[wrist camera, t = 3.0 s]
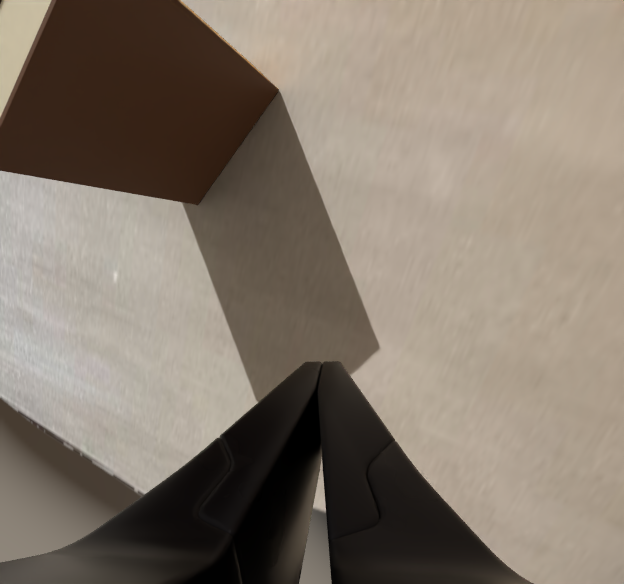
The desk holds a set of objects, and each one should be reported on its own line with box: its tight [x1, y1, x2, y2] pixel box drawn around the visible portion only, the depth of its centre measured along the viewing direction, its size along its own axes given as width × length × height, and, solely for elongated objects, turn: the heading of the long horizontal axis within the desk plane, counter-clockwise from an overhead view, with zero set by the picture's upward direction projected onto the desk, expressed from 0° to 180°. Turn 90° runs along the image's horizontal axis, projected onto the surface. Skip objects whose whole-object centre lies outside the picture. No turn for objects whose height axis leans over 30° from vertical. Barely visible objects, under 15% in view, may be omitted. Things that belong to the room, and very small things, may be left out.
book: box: [0, 0, 279, 205], centre depth 16 cm, size 3×8×11 cm, turn 136°
